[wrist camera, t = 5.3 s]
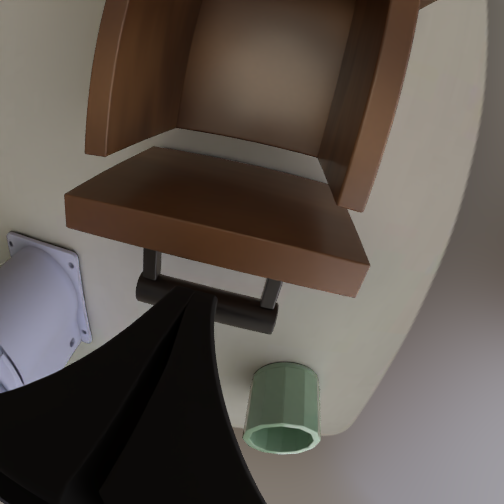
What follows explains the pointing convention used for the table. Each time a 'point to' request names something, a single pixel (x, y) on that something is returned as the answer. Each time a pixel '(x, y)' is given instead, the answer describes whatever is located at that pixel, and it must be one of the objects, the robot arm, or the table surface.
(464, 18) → the table surface
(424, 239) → the table surface
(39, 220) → the table surface
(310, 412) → the green cup
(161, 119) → the drawer
